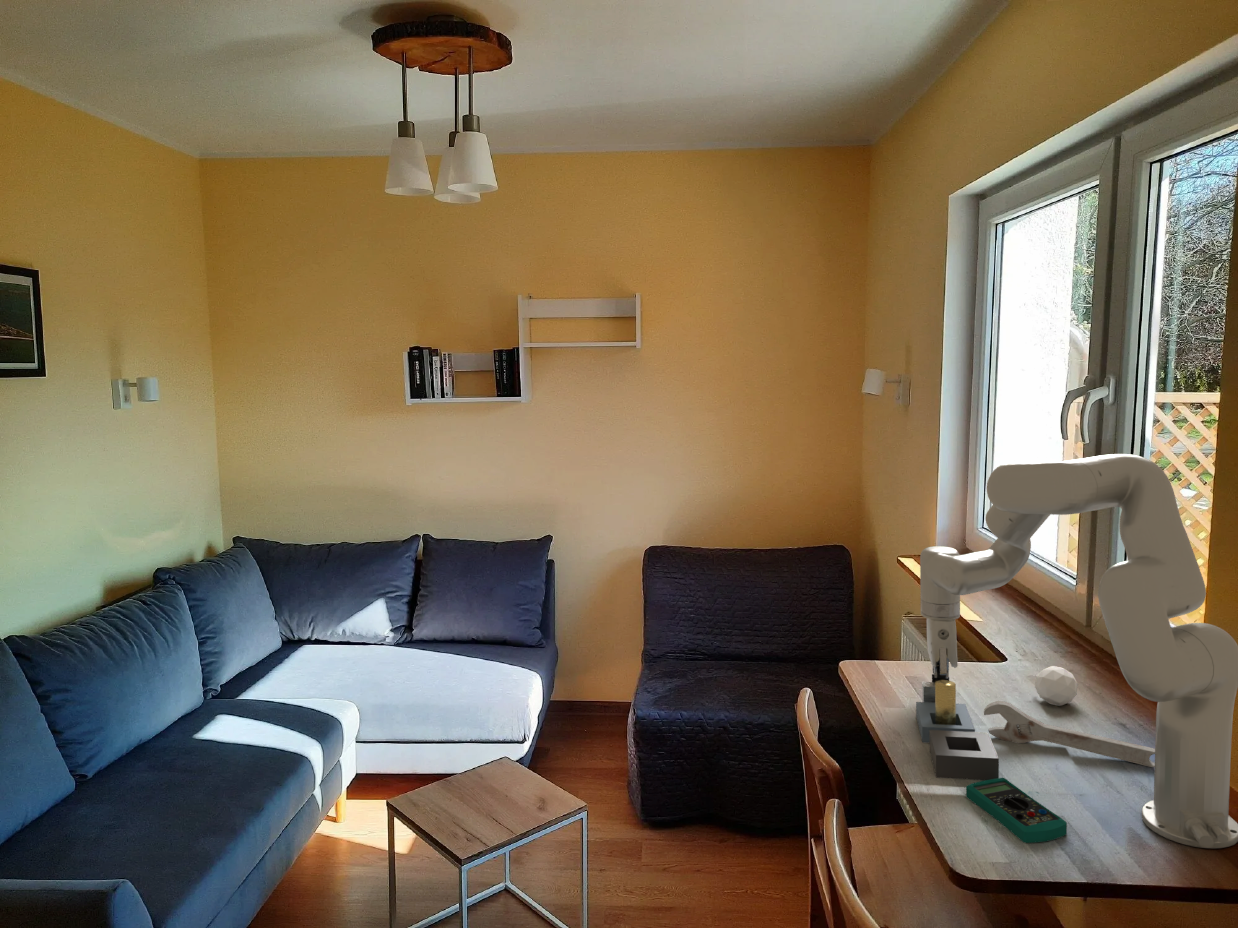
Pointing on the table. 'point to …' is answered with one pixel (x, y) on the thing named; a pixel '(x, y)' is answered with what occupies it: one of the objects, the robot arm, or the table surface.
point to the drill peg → (945, 702)
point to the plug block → (928, 692)
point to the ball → (1056, 685)
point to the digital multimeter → (1016, 810)
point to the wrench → (1062, 736)
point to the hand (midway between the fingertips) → (940, 694)
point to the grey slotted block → (963, 755)
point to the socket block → (928, 722)
